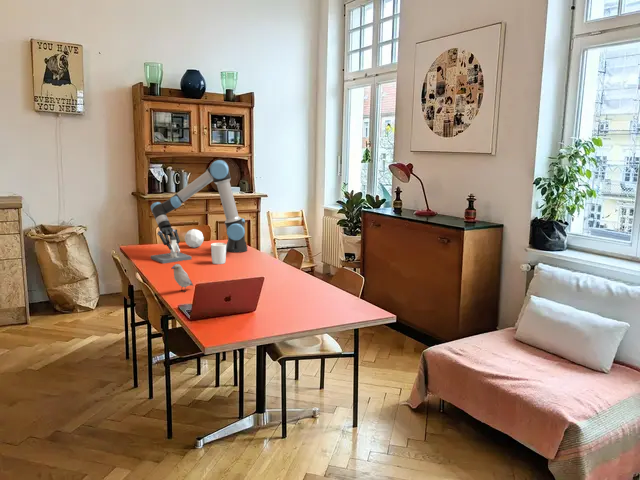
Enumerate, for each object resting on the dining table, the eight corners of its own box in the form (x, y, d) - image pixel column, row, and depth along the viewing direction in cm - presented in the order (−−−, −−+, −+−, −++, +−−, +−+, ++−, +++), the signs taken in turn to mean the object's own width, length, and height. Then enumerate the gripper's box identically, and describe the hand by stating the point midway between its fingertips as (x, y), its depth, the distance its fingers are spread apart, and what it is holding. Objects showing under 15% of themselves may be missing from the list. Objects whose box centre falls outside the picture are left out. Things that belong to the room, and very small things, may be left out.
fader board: (178, 254, 359) (178, 251, 359) (191, 259, 347) (191, 256, 347) (150, 258, 346) (150, 255, 346) (162, 263, 334) (162, 260, 333)
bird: (168, 293, 272) (167, 264, 269) (190, 287, 282) (189, 260, 279) (174, 295, 269) (174, 266, 266) (196, 289, 279) (195, 261, 276)
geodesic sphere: (181, 237, 391) (183, 224, 381) (200, 236, 396) (202, 223, 387) (185, 252, 382) (187, 239, 373) (204, 250, 388) (206, 238, 378)
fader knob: (174, 255, 346) (174, 236, 343) (176, 256, 344) (176, 237, 341) (170, 256, 344) (169, 237, 341) (172, 257, 342) (171, 237, 339)
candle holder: (228, 261, 344) (228, 243, 342) (224, 264, 335) (224, 246, 332) (213, 260, 345) (213, 242, 343) (209, 264, 335) (208, 245, 333)
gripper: (173, 225, 357) (185, 254, 348) (150, 228, 346) (162, 257, 337) (176, 218, 352) (189, 247, 343) (153, 220, 341) (166, 250, 332)
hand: (176, 252), depth 340 cm, fingers closed on fader knob, 3 cm apart
